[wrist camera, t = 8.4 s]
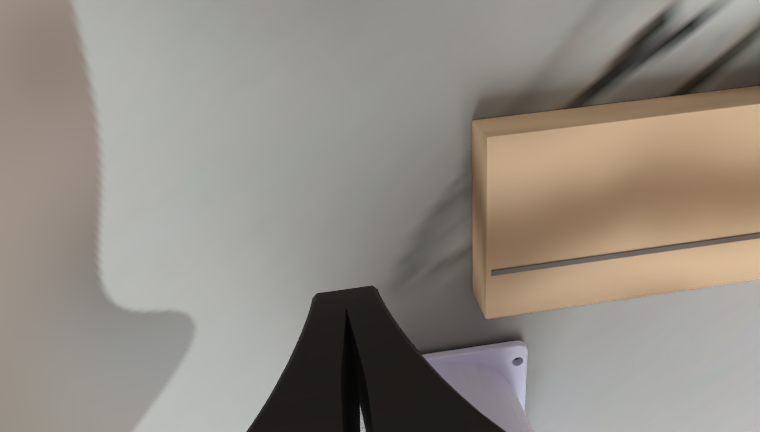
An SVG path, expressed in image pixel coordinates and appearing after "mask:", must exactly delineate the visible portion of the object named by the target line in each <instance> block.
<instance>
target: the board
mask: <svg viewBox="0 0 760 432" xmlns="http://www.w3.org/2000/svg"><path fill="white" fill-rule="evenodd" d="M472 236H473V293H474V295H475V297H476V300H477V302H478V304H479V306H480V308H481V310H482V312H483V314H484V317H485V319H492V318H499V317H506V316H513V315H520V314H526V313H533V312H540V311H547V310H554V309H560V308H567V307H574V306H581V305H588V304H595V303H601V302H608V301H615V300H622V299H629V298H636V297H642V296H649V295H656V294H663V293H670V292H676V291H683V290H690V289H697V288H704V287H711V286H717V285H724V284H731V283H738V282H745V281H752V280H758V279H760V86H752V87H744V88H736V89H727V90H719V91H711V92H703V93H694V94H686V95H678V96H670V97H661V98H653V99H645V100H637V101H628V102H620V103H612V104H604V105H595V106H587V107H579V108H571V109H562V110H554V111H546V112H538V113H529V114H521V115H513V116H505V117H496V118H488V119H480V120H472Z"/></svg>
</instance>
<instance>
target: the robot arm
mask: <svg viewBox="0 0 760 432" xmlns="http://www.w3.org/2000/svg"><path fill="white" fill-rule="evenodd" d="M518 357H519V358H518ZM515 358H518V359H517V360H514V359H515ZM527 359H528V349H527V347H526V345H525V344H524V343H523V342H522V341H510V342H503V343H497V344H490V345H483V346H477V347H470V348H463V349H457V350H450V351H443V352H437V353H430V354H423V355H421V354H420V352H419V351H418V350H417V349H416V348H415V346H414V345H413V344H412V343H411V341H410V340H409V339H408V337H407V336H406V335H405V334H404V332H403V331H402V330H401V328H400V327H399V325H398V324H397V323H396V321H395V320H394V318H393V317H392V315H391V314H390V312H389V311H388V309H387V307H386V306H385V304H384V302H383V300H382V298H381V296H380V294H379V292H378V289H376V288H375V287H373V286H366V287H359V288H352V289H345V290H338V291H331V292H324V293H317V294H316V295H315V296H314V297H313V299H312V303H311V307H310V311H309V314H308V317H307V320H306V322H305V325H304V328H303V330H302V333H301V335H300V337H299V340H298V342H297V344H296V346H295V349H294V351H293V353H292V355H291V357H290V359H289V362H288V364H287V365H286V367H285V369H284V371H283V373H282V375H281V377H280V378H279V380H278V382H277V384H276V386H275V388H274V390H273V391H272V393H271V395H270V396H269V398H268V400H267V401H266V403H265V405H264V406H263V408H262V409H261V411H260V413H259V414H258V416H257V417H256V419H255V420H254V422H253V423H252V425H251V426H250V427H249V429H248V430H247V432H360V406H361V411H362V415H363V420H364V424H365V429H366V432H533V430H532V427H531V425H530V423H529V421H528V419H527V416H526V414H525V396H526V378H527Z"/></svg>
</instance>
